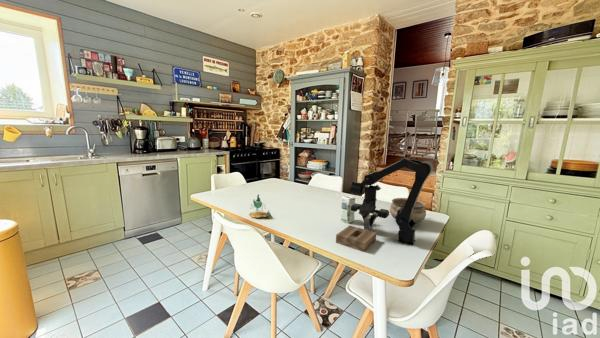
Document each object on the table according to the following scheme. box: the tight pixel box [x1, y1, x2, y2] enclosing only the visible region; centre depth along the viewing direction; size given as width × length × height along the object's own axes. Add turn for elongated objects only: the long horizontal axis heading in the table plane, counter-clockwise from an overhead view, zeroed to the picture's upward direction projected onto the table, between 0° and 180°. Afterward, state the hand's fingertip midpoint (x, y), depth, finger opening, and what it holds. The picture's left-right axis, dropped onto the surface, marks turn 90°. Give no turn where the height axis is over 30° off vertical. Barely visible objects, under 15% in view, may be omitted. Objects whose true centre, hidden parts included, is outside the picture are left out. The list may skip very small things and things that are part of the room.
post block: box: [335, 225, 377, 253], centre depth 114 cm, size 14×14×4 cm
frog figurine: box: [248, 194, 273, 219], centre depth 145 cm, size 10×18×15 cm, turn 53°
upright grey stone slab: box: [363, 214, 374, 232], centre depth 125 cm, size 2×6×8 cm, turn 142°
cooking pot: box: [389, 197, 427, 224], centre depth 137 cm, size 25×19×12 cm
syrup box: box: [340, 195, 356, 224], centre depth 138 cm, size 6×6×14 cm
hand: (368, 226), depth 125 cm, fingers closed on upright grey stone slab, 2 cm apart
